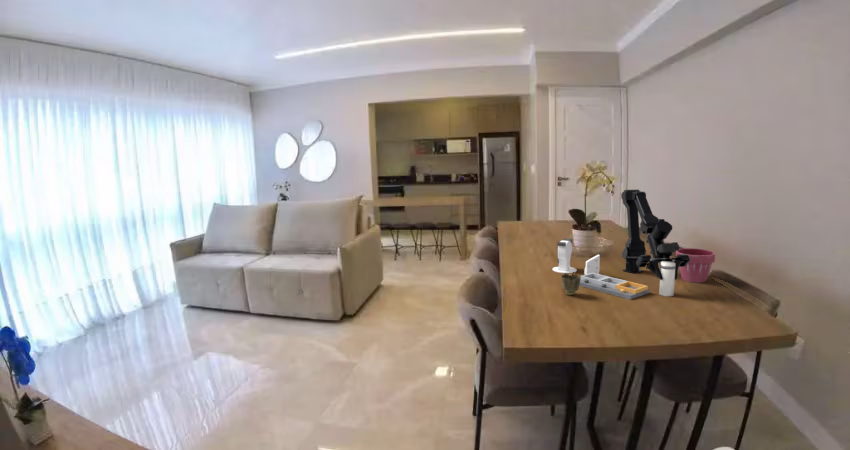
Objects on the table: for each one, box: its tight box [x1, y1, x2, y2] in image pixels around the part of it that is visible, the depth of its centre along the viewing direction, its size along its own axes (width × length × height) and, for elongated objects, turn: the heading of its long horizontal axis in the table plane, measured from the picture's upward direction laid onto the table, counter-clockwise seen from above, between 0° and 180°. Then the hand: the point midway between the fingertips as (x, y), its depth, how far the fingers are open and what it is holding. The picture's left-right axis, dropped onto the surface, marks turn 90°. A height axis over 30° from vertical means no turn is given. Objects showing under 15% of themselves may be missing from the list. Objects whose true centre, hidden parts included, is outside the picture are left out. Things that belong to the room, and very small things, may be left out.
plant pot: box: [675, 247, 716, 284], centre depth 180 cm, size 14×14×13 cm
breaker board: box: [579, 273, 650, 301], centre depth 173 cm, size 13×26×3 cm, turn 32°
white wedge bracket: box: [583, 254, 601, 275], centre depth 193 cm, size 4×10×9 cm, turn 84°
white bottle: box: [658, 261, 676, 297], centre depth 163 cm, size 5×5×13 cm
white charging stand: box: [552, 238, 577, 274], centre depth 203 cm, size 12×11×15 cm
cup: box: [560, 273, 582, 296], centre depth 167 cm, size 8×7×8 cm
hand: (668, 279), depth 161 cm, fingers closed on white bottle, 5 cm apart
